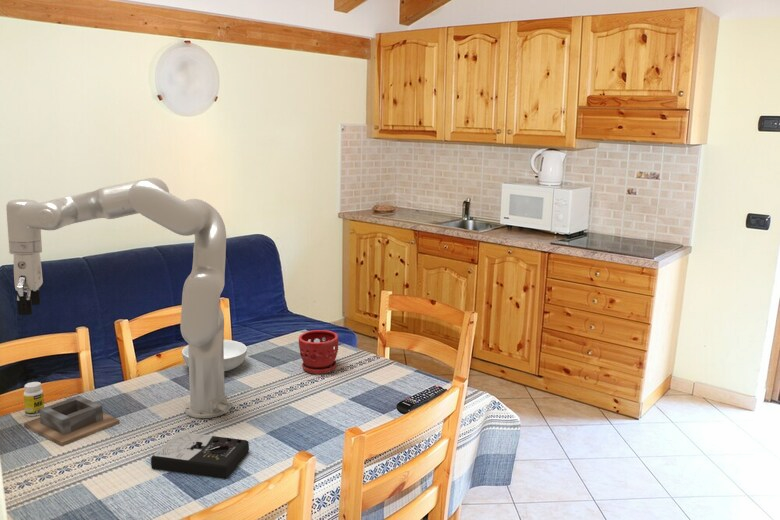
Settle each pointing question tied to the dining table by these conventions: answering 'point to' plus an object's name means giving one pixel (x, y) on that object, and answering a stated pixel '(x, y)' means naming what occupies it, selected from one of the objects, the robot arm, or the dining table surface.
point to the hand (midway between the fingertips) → (29, 309)
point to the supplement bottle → (33, 398)
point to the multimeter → (200, 455)
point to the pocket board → (72, 434)
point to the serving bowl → (226, 354)
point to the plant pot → (318, 351)
